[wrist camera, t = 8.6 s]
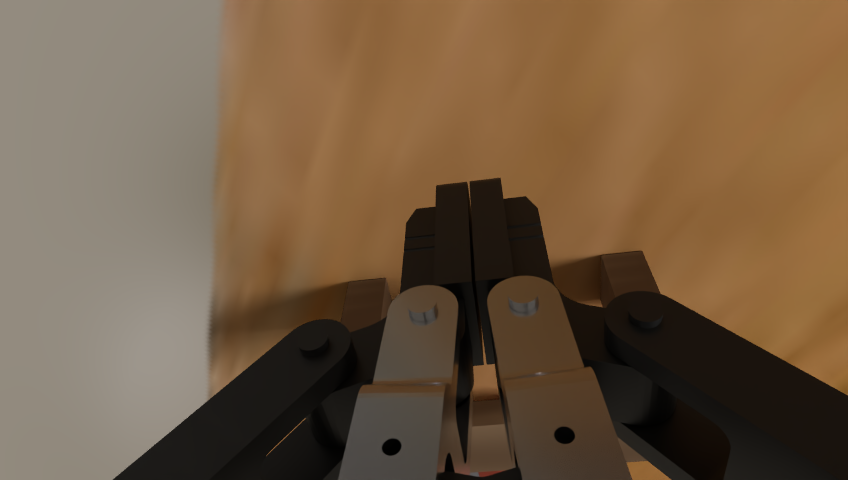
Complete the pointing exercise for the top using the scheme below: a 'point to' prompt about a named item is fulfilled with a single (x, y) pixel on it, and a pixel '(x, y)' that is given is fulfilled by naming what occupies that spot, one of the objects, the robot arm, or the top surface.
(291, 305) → the top surface
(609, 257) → the bridge
